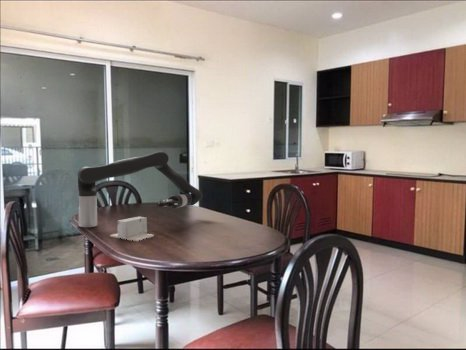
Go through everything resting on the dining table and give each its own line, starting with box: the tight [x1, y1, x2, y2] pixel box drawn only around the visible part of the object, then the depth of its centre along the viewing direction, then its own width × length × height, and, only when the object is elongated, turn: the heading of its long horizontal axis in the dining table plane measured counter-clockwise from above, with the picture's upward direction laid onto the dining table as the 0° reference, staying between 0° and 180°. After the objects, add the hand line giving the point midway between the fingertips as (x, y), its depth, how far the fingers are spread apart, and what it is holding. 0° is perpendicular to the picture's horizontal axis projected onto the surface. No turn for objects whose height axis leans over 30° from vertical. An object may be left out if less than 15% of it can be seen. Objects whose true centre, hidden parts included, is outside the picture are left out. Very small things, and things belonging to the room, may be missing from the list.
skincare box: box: [116, 215, 148, 238], centre depth 189 cm, size 8×6×15 cm
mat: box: [109, 232, 155, 242], centre depth 189 cm, size 18×12×1 cm, turn 61°
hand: (158, 205), depth 205 cm, fingers closed
